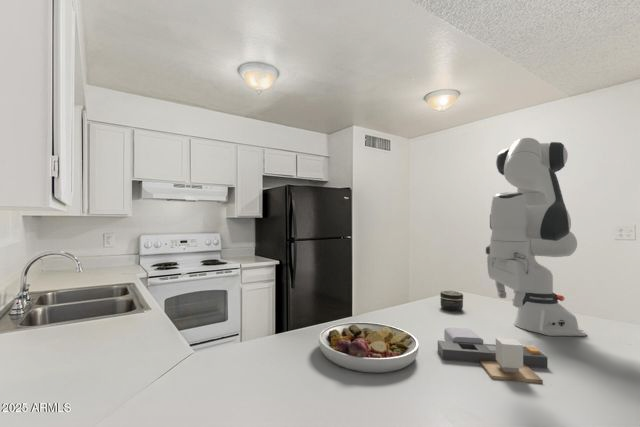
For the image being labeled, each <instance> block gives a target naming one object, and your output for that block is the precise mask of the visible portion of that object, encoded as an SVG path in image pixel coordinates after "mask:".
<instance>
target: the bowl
mask: <svg viewBox="0 0 640 427" xmlns="http://www.w3.org/2000/svg"><path fill="white" fill-rule="evenodd" d="M318 345H319V348H320V351H321V352H322V353H323V355H324V356H325V357H326V358H327V359H328V360H329V361H331V362H332V363H334V364H336V365H338V366H340V367H342V368H345V369H348V370H352V371H356V372H362V373H380V374H381V373H382V374H383V373H389V372H394V371H398V370H401V369H404V368H406V367H407V366H409V365H410V364H412V362H414V361H415V359H416V357H418V353H419V346H420V345H419V341H418V339H417V338H416V337H415V336H414V335H413V334H411V333H410V332H408V331H406V330H405V329H404V330H403V329H401V328H398V327H396V326H392V325H388V324H382V323H378V322H377V323H376V322H369V321H368V322H365V321H354V322H343V323H342V322H341V323H337V324H334V325H331V326H328V327H325V328H324V329H323V330H322V331H321V332H320V333H319V334H318Z"/></svg>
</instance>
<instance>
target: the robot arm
mask: <svg viewBox="0 0 640 427" xmlns="http://www.w3.org/2000/svg"><path fill="white" fill-rule="evenodd" d="M568 158H569V155H568V149H567V148H566V147H565V145H564V143H563V142H558V141H550V142H548V143H547V142H544V143H543V142H541V143H540V141H538V140H537V139H535V138H534V137H533V138H532V137H523V138H520V139H518V140H516V141H514V143H512V145H511V147H510V148H509V147H508V148H506V149H502V150H501V151H500V152H498V154H497V157H496V161H495V166H496V169H497V170H498V173H499V174H501V176H504V178H505V180H506V181H507V182H508V183H509V184H510V185H511V186H513V187H515V188H517V191H513V192H512V191H509V192H500V193H496V194H494V195H493V197H492V201H491V207H490V215H489V229H490V230H491V236H490V243H489V245H488V246H486V247H485V255H487V258H486V259H487V260H486V261H487V274H488V276H489V279H492V280H493V281H494V282H495V287H496V290H497V296H498V298H500V299H506V298H507V291H506V288H505V286H506V287H508V288H510V289H511V290H513V294H514V297H513V298H512V306H513V307H515V308H517V310H516V315H515V320H514V322H513V324H514V326H515V327H518V328H520V329H523V330H525V331H530V332H532V333H533V332H534V333H537V334H538V333H539V334H542V335H544V336H550V337H551V336H554V337H555V336H557V337H558V336H559V337H560V336H562V337H563V336H564V337H566V336H567V337H570V336H571V337H572V336H573V337H574V336H575V337H578V336H581V337H585V336H587V332H586V330H584V329H583V328H581V327H579V323H578V320H577V318H576V317H577V316H576V315H575V314H574V313H572V312H571V311H569V310H568V309H567V308H566V307H565V306H563V305H562V304H560V303H559V301H560V302H563V301H565V297H564V295H561V294H557V293H555V292H554V291H553V290H554V287H553V286H554V285H553V284H554V278H553V277H554V275H553V272H552V271H551V270H550V269H549V268H548V267H546V266H544V265H542V264H540V263H539V262H538V261H537V260H536V258H535V257H546V258H549V257H550V258H561V257H570V256H572V255H573V254H574V253H575V252H576V250H577V247H578V240H577V238H576V236H575V234H574V233H573V232H572V231H571V227H572V220H571V215H570V213H569V211H568V210H567V207H566V204H565V201H564V197H563V193H562V191H561V187H560V184H559V180H558V177H557V172H559V171H561V170H562V169H563V168H564V167H565V166H566V163H567V160H568Z"/></svg>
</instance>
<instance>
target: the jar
mask: <svg viewBox="0 0 640 427" xmlns="http://www.w3.org/2000/svg"><path fill="white" fill-rule="evenodd" d="M439 296H440V307H441V309H442V310H444V311H447V312H462V311H463V309H464V294H463V293H462V292H459V291H454V290H443V291H440V295H439Z"/></svg>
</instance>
